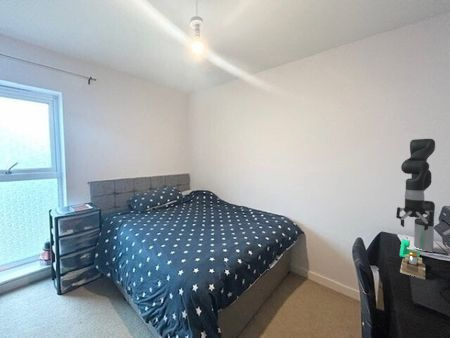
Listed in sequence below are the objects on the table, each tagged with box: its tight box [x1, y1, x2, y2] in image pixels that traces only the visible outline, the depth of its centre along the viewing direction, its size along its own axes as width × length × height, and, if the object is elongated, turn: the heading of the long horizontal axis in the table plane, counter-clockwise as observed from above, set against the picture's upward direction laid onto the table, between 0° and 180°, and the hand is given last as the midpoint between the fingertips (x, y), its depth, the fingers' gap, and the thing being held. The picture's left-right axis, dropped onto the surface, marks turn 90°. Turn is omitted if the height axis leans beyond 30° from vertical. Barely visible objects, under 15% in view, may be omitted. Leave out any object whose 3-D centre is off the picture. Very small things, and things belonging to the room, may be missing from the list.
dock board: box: [399, 255, 426, 280], centre depth 111 cm, size 18×10×5 cm, turn 135°
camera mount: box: [399, 238, 421, 258], centre depth 125 cm, size 12×8×10 cm, turn 128°
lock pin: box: [409, 251, 418, 266], centre depth 108 cm, size 3×3×10 cm
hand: (413, 228), depth 107 cm, fingers open, 8 cm apart
